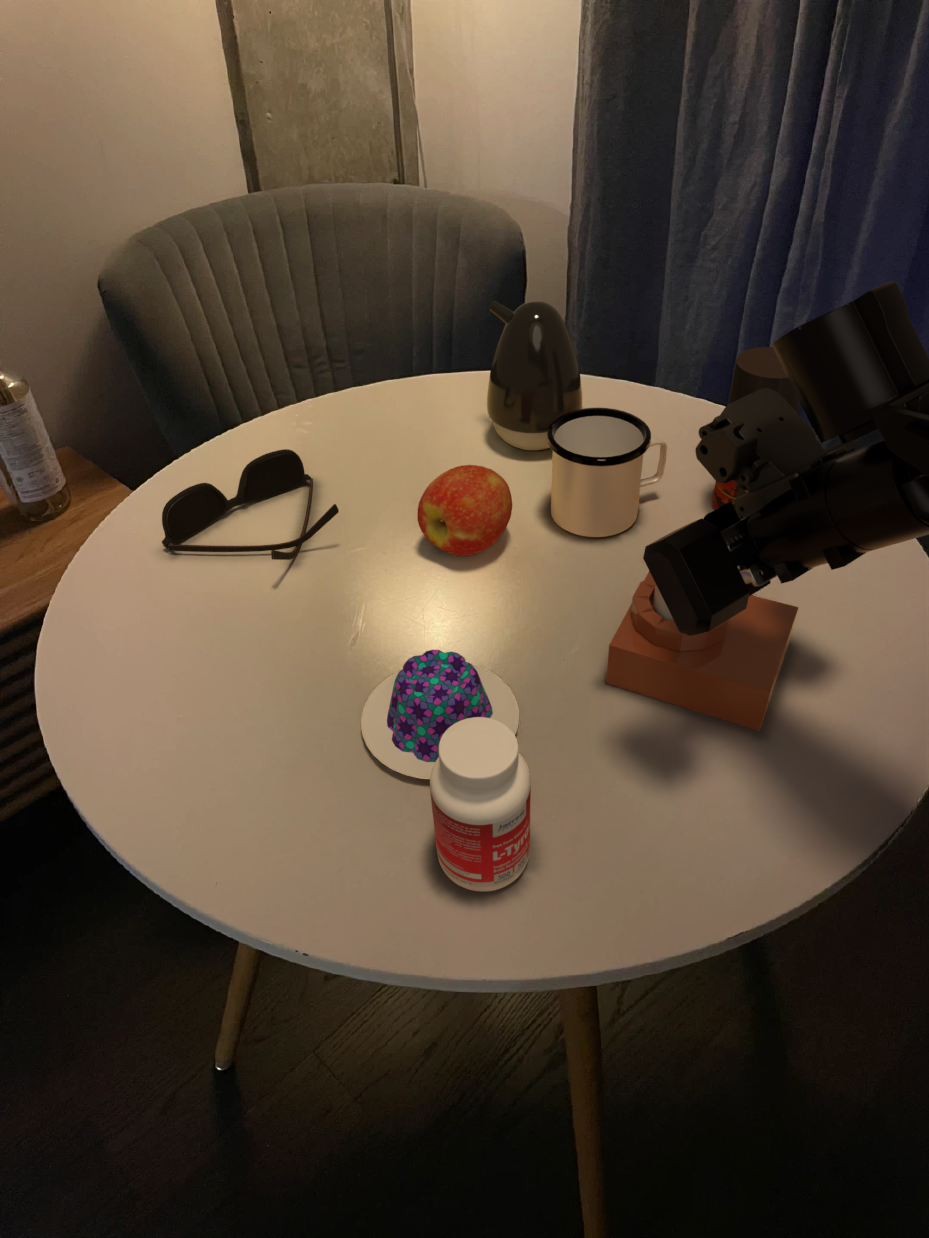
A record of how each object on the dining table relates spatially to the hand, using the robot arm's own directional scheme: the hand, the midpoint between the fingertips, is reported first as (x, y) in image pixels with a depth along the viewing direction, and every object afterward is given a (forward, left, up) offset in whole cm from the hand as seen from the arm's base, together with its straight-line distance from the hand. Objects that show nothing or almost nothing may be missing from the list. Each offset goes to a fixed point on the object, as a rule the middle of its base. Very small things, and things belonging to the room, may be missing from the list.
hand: (693, 560), depth 65 cm
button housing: (-2, 0, -10) cm, 10 cm away
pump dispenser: (+24, -27, -10) cm, 38 cm away
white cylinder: (0, 0, -5) cm, 5 cm away
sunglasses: (+40, 0, -10) cm, 42 cm away
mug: (+12, -17, -10) cm, 24 cm away
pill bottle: (+6, +23, -10) cm, 26 cm away
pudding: (+14, +14, -10) cm, 22 cm away
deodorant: (0, -23, -10) cm, 25 cm away
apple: (+22, -7, -10) cm, 26 cm away
